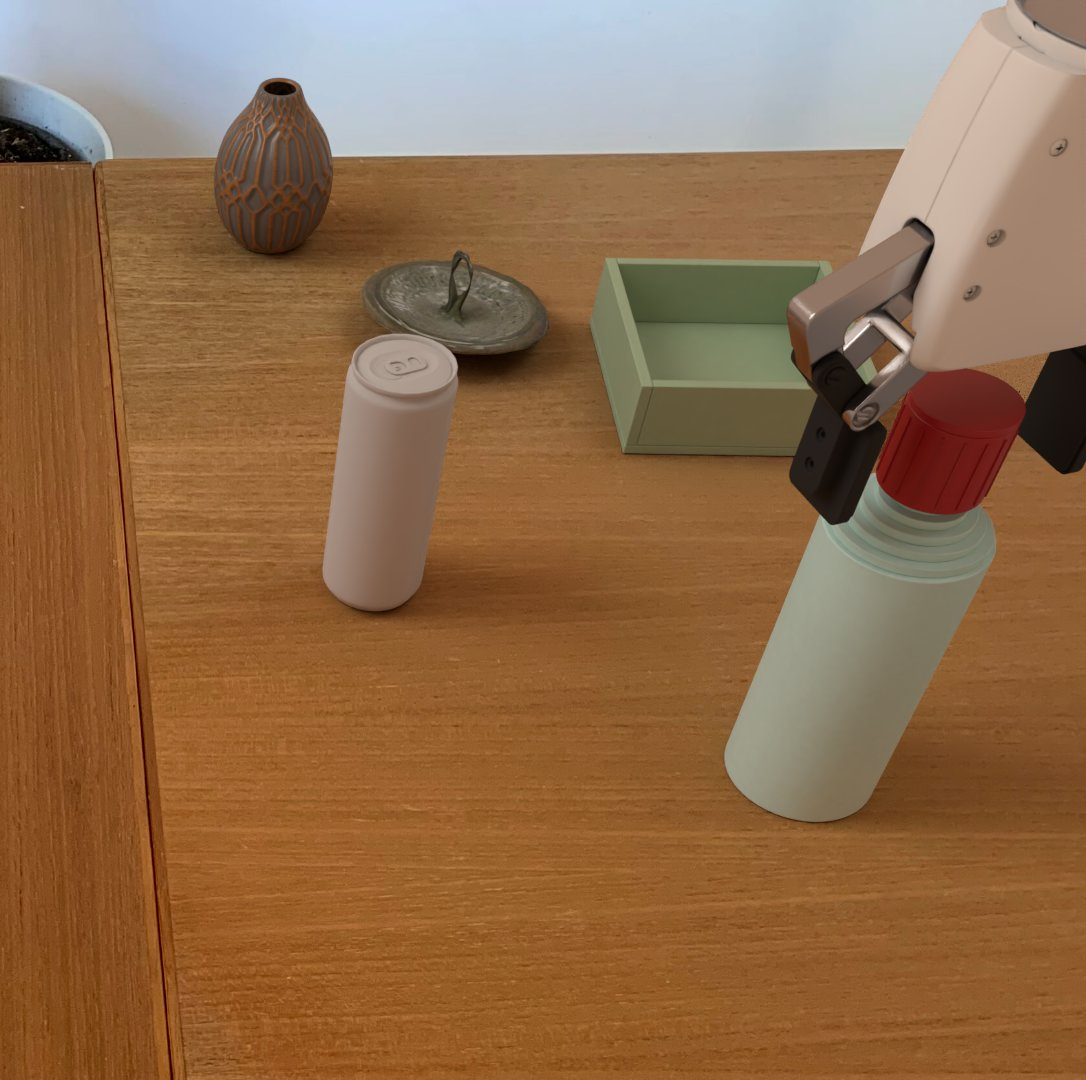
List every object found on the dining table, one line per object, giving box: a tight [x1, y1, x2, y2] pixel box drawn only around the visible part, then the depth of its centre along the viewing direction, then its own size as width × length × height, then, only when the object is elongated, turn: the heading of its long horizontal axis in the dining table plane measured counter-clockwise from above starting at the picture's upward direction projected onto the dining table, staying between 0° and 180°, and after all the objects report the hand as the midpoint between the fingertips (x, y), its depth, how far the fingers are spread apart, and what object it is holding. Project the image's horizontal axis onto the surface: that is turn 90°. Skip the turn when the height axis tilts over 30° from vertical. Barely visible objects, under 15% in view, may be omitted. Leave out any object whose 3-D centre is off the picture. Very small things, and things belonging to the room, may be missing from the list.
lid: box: [361, 249, 551, 355], centre depth 94 cm, size 11×10×5 cm
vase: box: [213, 77, 334, 254], centre depth 98 cm, size 7×7×9 cm
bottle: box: [723, 472, 997, 823], centre depth 67 cm, size 6×6×18 cm
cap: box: [875, 368, 1026, 515], centre depth 61 cm, size 4×4×4 cm
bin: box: [589, 257, 879, 457], centre depth 90 cm, size 12×12×4 cm
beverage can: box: [321, 333, 459, 612], centre depth 77 cm, size 5×5×12 cm
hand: (932, 476), depth 62 cm, fingers open, 9 cm apart
